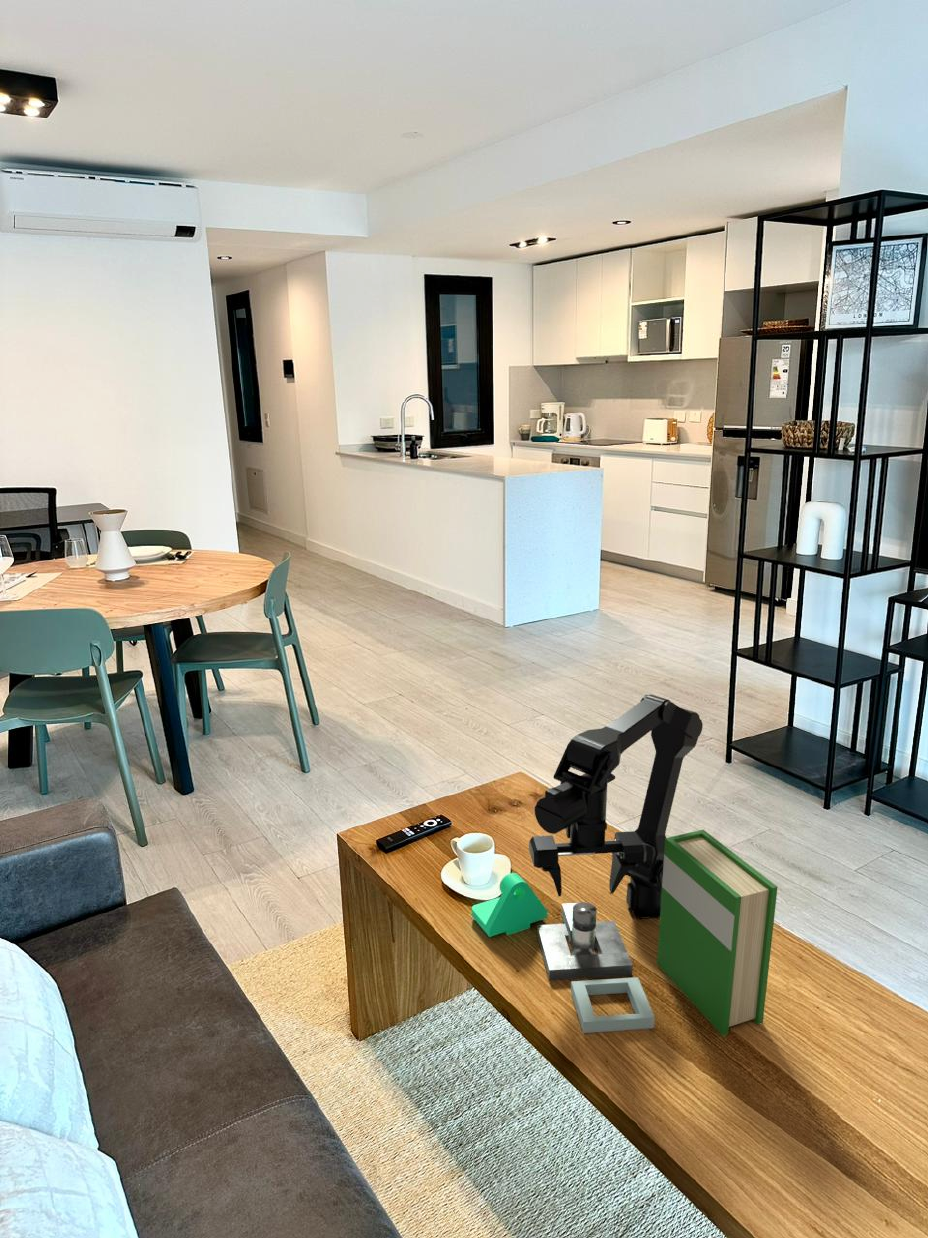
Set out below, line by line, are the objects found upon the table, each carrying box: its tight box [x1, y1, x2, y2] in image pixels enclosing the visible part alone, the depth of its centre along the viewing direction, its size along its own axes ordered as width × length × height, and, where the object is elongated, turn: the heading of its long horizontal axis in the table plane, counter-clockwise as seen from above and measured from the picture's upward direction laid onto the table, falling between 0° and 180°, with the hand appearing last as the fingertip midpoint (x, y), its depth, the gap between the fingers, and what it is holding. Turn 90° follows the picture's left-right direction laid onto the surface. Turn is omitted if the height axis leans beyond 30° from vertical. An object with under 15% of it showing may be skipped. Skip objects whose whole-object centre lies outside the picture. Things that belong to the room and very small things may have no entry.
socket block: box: [536, 920, 634, 981], centre depth 145 cm, size 14×12×2 cm
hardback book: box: [656, 829, 778, 1037], centre depth 133 cm, size 18×7×24 cm, turn 21°
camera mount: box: [471, 872, 548, 938], centre depth 153 cm, size 12×8×10 cm, turn 117°
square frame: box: [570, 976, 656, 1034], centre depth 132 cm, size 11×9×2 cm
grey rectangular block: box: [561, 902, 578, 944], centre depth 152 cm, size 3×8×2 cm, turn 5°
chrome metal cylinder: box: [570, 901, 598, 956], centre depth 144 cm, size 4×4×9 cm
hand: (585, 893), depth 142 cm, fingers open, 9 cm apart
